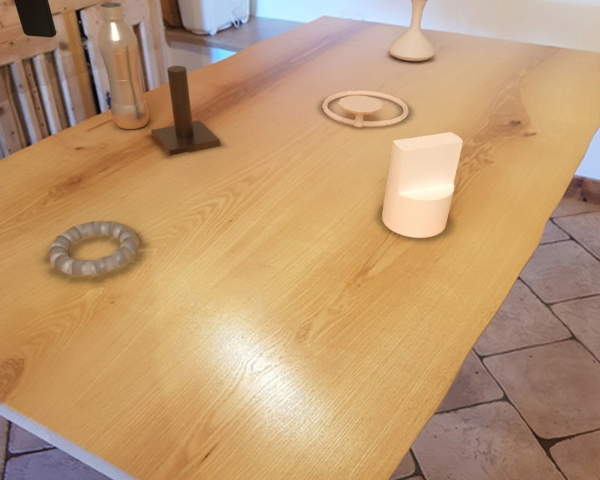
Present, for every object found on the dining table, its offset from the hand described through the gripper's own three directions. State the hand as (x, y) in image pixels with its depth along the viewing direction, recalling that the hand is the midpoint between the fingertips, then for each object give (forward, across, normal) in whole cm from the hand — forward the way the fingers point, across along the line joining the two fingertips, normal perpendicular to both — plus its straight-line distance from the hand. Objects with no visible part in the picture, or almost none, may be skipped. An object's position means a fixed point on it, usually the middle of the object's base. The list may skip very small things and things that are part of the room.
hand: (11, 50), depth 50 cm
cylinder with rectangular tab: (+26, -22, +39) cm, 52 cm away
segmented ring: (+25, -4, 0) cm, 25 cm away
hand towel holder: (+26, -59, +28) cm, 70 cm away
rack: (+26, -38, -1) cm, 46 cm away
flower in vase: (+26, -96, +36) cm, 106 cm away
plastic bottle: (+26, -43, -13) cm, 52 cm away
